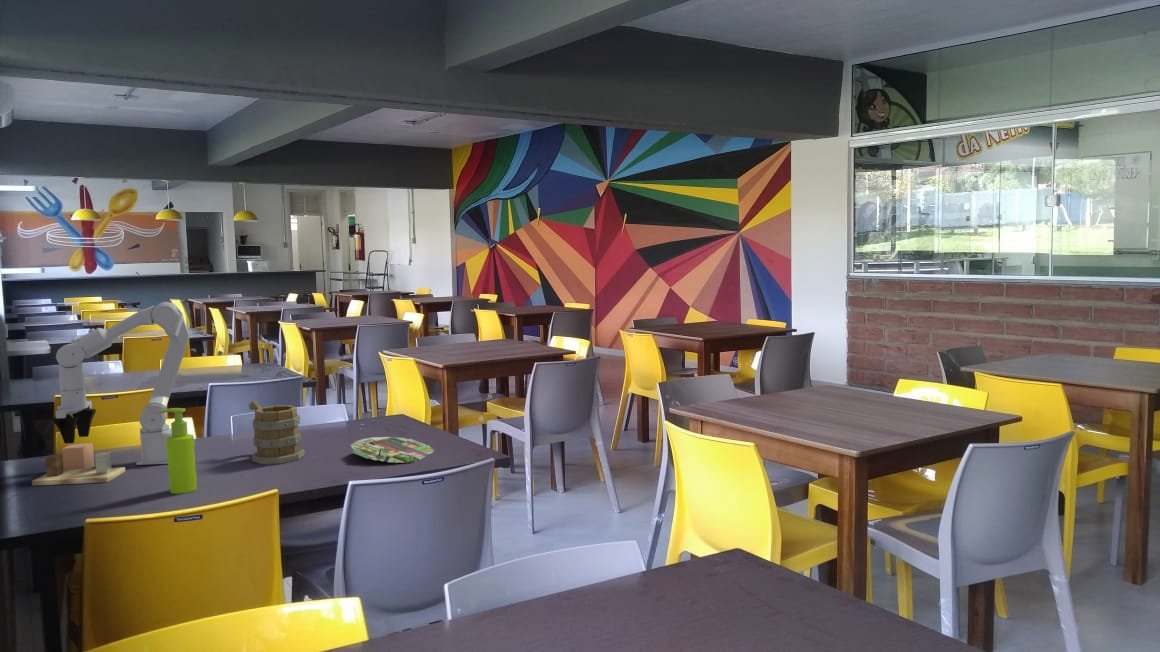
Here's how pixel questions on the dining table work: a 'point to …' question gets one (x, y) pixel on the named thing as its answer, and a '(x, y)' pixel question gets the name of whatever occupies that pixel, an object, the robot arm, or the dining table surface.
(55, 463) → the walnut post
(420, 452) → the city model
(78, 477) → the birch board
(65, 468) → the tan cardboard box
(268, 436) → the tankard
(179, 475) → the soap dispenser
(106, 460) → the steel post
